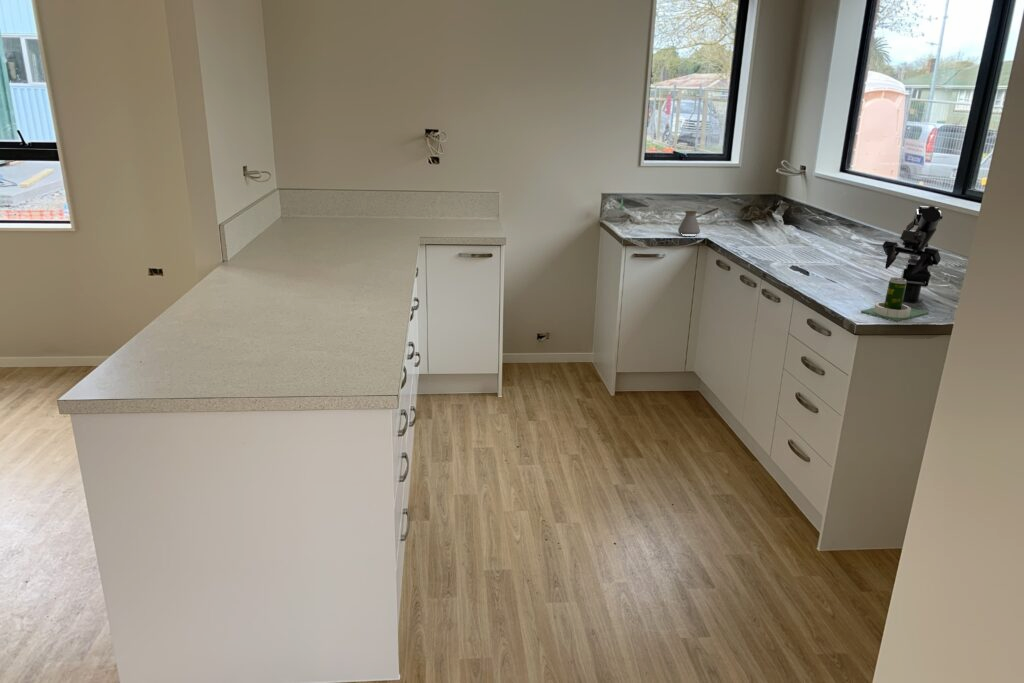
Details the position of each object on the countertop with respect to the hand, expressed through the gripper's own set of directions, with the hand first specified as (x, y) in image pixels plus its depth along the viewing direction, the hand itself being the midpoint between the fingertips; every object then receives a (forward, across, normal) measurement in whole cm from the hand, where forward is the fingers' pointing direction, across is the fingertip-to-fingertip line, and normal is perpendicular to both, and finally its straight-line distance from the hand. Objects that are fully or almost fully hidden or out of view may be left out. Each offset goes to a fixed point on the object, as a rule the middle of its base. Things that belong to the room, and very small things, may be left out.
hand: (898, 270), depth 255 cm
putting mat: (+14, +4, +6) cm, 15 cm away
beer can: (+15, +5, +3) cm, 16 cm away
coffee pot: (-24, -133, +43) cm, 142 cm away
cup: (+16, +5, +4) cm, 17 cm away
